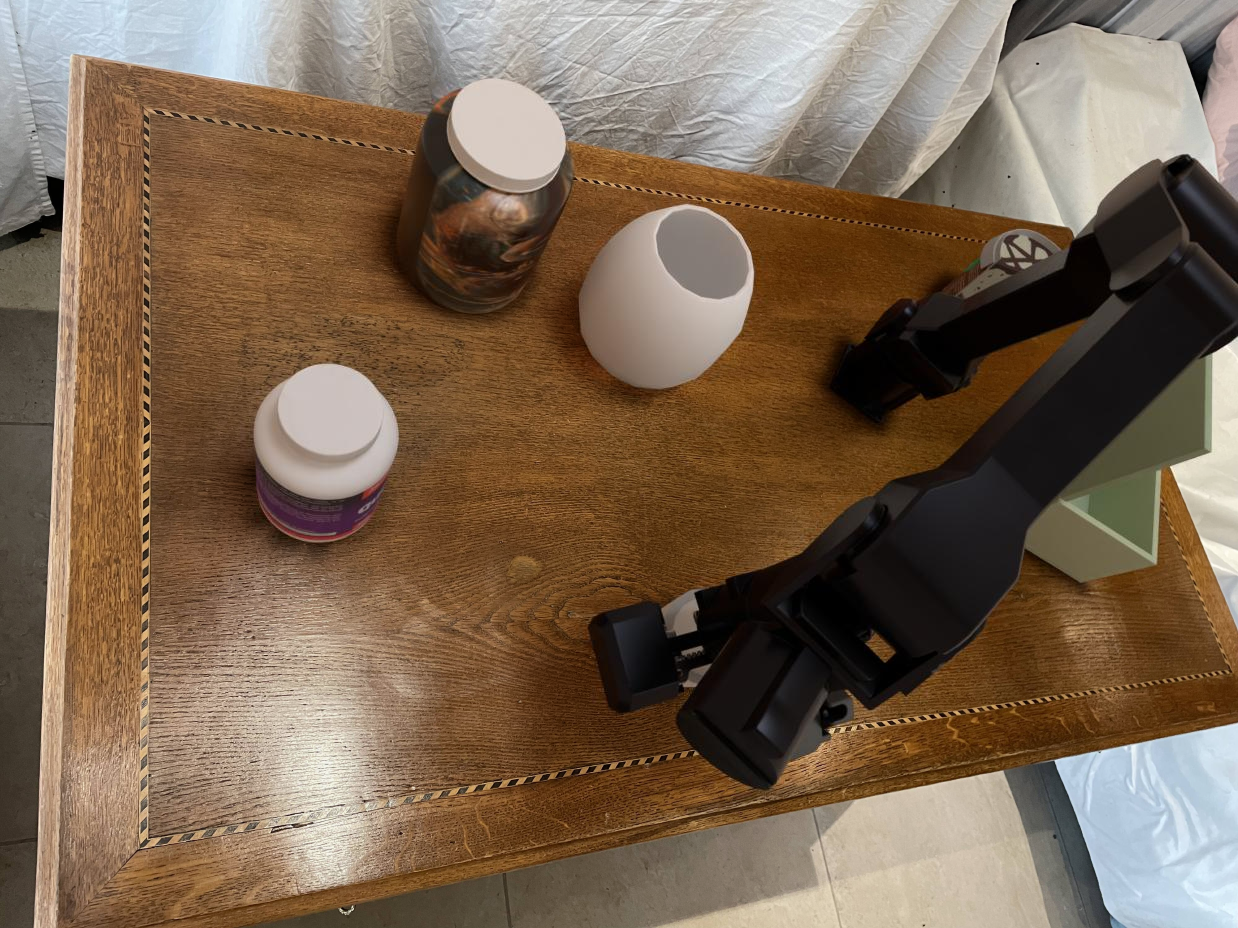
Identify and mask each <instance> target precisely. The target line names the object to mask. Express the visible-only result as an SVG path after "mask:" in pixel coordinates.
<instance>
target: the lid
mask: <svg viewBox="0 0 1238 928" xmlns="http://www.w3.org/2000/svg"><path fill="white" fill-rule="evenodd" d="M1213 354H1214V353H1212V354H1210V355H1208V356H1206V357H1203V358H1201V359H1198V360H1196V361H1195V362H1194V363H1193V364H1192V365H1191V366H1190V367H1189V368H1188V369H1187V370H1186V371H1185V372H1184V373H1183V374H1182V375H1181V376H1180V377H1179V378H1178V379H1177V380H1176V381H1175V382H1174V383H1173V384H1172V385H1171V386H1170V387H1169V388H1168V389H1167V390H1166V391H1165V392H1164V393H1163V394H1162V395H1161V396H1160V397H1159V398H1158V399H1157V400H1156V401H1155V402H1154V403H1153V404H1152V405H1151V406H1150V407H1149V408H1148V409H1147V410H1146V411H1145V412H1144V413H1143V414H1142V415H1141V416H1140V417H1139V418H1138V419H1137V420H1136V421H1135V422H1134V423H1133V424H1132V425H1131V426H1130V427H1129V428H1128V429H1127V430H1126V431H1125V432H1124V433H1123V434H1122V435H1121V436H1120V437H1119V438H1118V439H1117V440H1116V441H1115V442H1114V443H1113V444H1112V445H1111V446H1110V447H1109V448H1108V449H1107V450H1106V451H1105V452H1104V453H1103V454H1102V455H1101V456H1100V457H1099V458H1098V459H1097V460H1096V461H1095V462H1094V463H1093V464H1092V465H1091V466H1090V467H1089V468H1088V469H1087V470H1086V471H1085V472H1084V473H1083V474H1082V475H1081V476H1080V477H1079V478H1078V479H1077V480H1076V481H1075V482H1074V483H1073V484H1072V485H1071V486H1070V487H1069V488H1068V489H1067V490H1066V491H1065V492H1064V493H1063V494H1062V495H1061V496H1060V498H1061V499H1062V500H1064V501H1065V502H1068V501H1071V500H1074V499H1076V498H1079V497H1082V496H1085V495H1088V494H1091V493H1094V492H1097V491H1100V490H1103V489H1106V488H1109V487H1112V486H1114V485H1117V484H1120V483H1123V482H1126V481H1129V480H1132V479H1135V478H1138V477H1141V476H1144V475H1147V474H1150V473H1152V472H1155V471H1158V470H1161V471H1162V470H1164V469H1167V468H1170V467H1173V466H1175V465H1179V464H1182V463H1185V462H1188V461H1190V460H1193V459H1196V458H1199V457H1202V456H1204V455H1207V454H1210V453H1212V451H1213V450H1212V449H1213V442H1212V441H1213Z"/></svg>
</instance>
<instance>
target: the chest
mask: <svg viewBox="0 0 1238 928" xmlns="http://www.w3.org/2000/svg"><path fill="white" fill-rule="evenodd" d="M1161 484H1162V469H1161V470H1158V471H1155V472H1152V473H1150V474H1147V475H1144V476H1141V477H1138V478H1135V479H1132V480H1129V481H1126V482H1123V483H1120V484H1117V485H1114V486H1112V487H1109V488H1106V489H1103V490H1100V491H1097V492H1094V493H1091V494H1088V495H1085V496H1082V497H1079V498H1076V499H1074V500H1071V501H1068V502H1065V501H1064V500H1062V499H1061V498H1060V497H1059V498H1058V499H1057V500H1056V501H1055V502H1054V503H1053V504H1052V505H1051V506H1050V507H1049V508H1048V509H1047V510H1046V511H1045V512H1044V513H1043V514H1042V515H1041V516H1040V517H1039V519H1038V520H1037V521H1036V522H1035V523H1034V525H1033V526H1032V527H1031V528H1030V529H1029V531H1028V534H1027V540H1026V545H1025V550H1027V551H1029V552H1030V553H1032V554H1033V555H1035V556H1036V557H1038V558H1040V559H1041V560H1043V561H1044V562H1046V563H1048V564H1049V565H1052V566H1053V567H1055V568H1056V569H1057V570H1059V571H1061V572H1063V573H1064V574H1066V575H1067V576H1068V577H1070V578H1072V579H1074V580H1076V581H1077V582H1078V583H1080V584H1082V583H1083V584H1084V583H1087V582H1091V581H1095V580H1099V579H1103V578H1107V577H1112V576H1115V575H1119V574H1124V573H1129V572H1133V571H1136V570H1137V571H1138V570H1142V569H1145V568H1149V567H1154V566H1157V565H1158V549H1159V527H1160V508H1161V507H1160V506H1161V504H1160V503H1161V487H1162V485H1161Z"/></svg>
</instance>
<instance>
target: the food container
mask: <svg viewBox="0 0 1238 928" xmlns="http://www.w3.org/2000/svg"><path fill="white" fill-rule="evenodd" d="M1061 250H1062V249H1061V248H1060V247H1059V246H1057V244H1056V243H1054V242H1053V241H1052V240H1051V239H1050V238H1047V237H1046V236H1045V235H1043V234H1041V233H1039V232H1038V231H1034V230H1031V229H1026V228H1017V229H1012V230H1008V231H1005V232H1003V233H1001V234H999V235H996V236H994V237H993V238H991V239H989V240H988V241H987V242H986V243H985V245H984V246H983V248H982V250H981V254H980V256H979V257H978V258H977V259H976V260H975V261H973V262H972V263H971V264H970V265H969V266H967V268H965V269H964V271H962V272H961V273H960V274H959V275H957V276H956V277H955V278H954V279H953V280H952V281H951V282H950V283H949V284H947V285H946V286H945V287H944V288H942V289H941V291H940V292H942V293H946V294H949V295H953V296H957V297H960V298H964V299H966V298H968V297H970V296H972V295H974V294H976V293H978V292H980V291H982V290H984V289H986V288H988V287H990V286H992V285H994V284H996V283H998V282H1000V281H1002V280H1004V279H1006V278H1007V277H1009V276H1011V275H1013V274H1015V273H1017V272H1019V271H1021V270H1023V269H1025V268H1027V267H1029V266H1031V265H1033V264H1035V263H1037V262H1039V261H1041V260H1043V259H1045V258H1047V257H1049V256H1051V255H1053V254H1055V253H1057V252H1059V251H1061Z"/></svg>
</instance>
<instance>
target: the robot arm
mask: <svg viewBox="0 0 1238 928" xmlns="http://www.w3.org/2000/svg"><path fill="white" fill-rule="evenodd" d="M1060 250H1061V251H1059V252H1057V253H1055V254H1053V255H1051V256H1049V257H1047V258H1045V259H1043V260H1041V261H1039V262H1037V263H1035V264H1033V265H1031V266H1029V267H1027V268H1025V269H1023V270H1021V271H1019V272H1017V273H1015V274H1013V275H1011V276H1009V277H1007V278H1006V279H1004V280H1002V281H1000V282H998V283H996V284H994V285H992V286H990V287H988V288H986V289H984V290H982V291H980V292H978V293H976V294H974V295H972V296H970V297H968V298H966V299H964V298H960V297H957V296H953V295H949V294H946V293H942V292H941V291H936V292H932V293H930V294H928V295H926V296H924V297H921V298H920V299H918V300H917V301H915V300H914V299H912V298H905V297H903V298H902V297H901V298H899V299H898V300H897V301H895V303H893V304H892V305H891V306H890V307H889V308H887V309H886V310H885V311H884V312H883V313H882V314H881V315H880V317H879V318H878V319H877V321H876V322H875V323H874V325H872V327H871V328H870V329H869V331H868V332H867V334H866V335H865V336H864V337H863V339H864V340H863V341H862V342H860V343H859V344H857V345H856V344H855V343H853V342H850V343H848V344H847V345H846V346H845V347H844V348H845V349H844V351H843V353H842V355H841V357H840V359H839V362H838V364H837V367H836V369H835V372H834V374H833V376H832V379H831V381H830V383H829V389H830V391H832V392H833V394H835V395H837V396H838V397H840V399H843V400H844V401H845V402H847V404H849V405H851V406H852V407H853V408H855V409H856V410H857V411H859V412H860V413H861V414H863V415H864V416H866V417H867V418H868V419H869V420H871V421H872V422H873V423H875V424H878V425H880V424H881V423H883V422H884V420H885V418H886V414H887V413H888V411H889V412H894V411H895V410H897V409H899V408H900V407H902V406H903V405H906V404H908V403H909V402H911V401H912V400H915V399H916V398H917V397H920V395H921V396H922V398H923V399H924V401H926V402H928V401H932V400H936V399H939V398H942V397H945V396H948V395H951V394H954V393H957V392H959V391H961V389H962V388H963V389H966V388H968V387H969V386H971V383H972V379H973V377H974V376H975V375H976V374H977V373H978V371H979V369H980V365H981V364H982V363H983V362H984V361H985V360H986V359H987V357H989V355H991V354H993V353H997V352H999V351H1002V350H1005V349H1007V348H1010V347H1014V346H1016V345H1018V344H1019V345H1020V344H1021V343H1025V342H1027V341H1029V340H1032V339H1035V338H1037V337H1040V336H1043V335H1046V334H1049V333H1051V332H1055V331H1057V330H1059V329H1062V328H1065V327H1068V326H1070V325H1074V324H1076V323H1080V322H1081V321H1084V322H1083V323H1082V324H1081V325H1080V327H1078V328H1077V329H1076V330H1075V331H1074V332H1073V333H1072V334H1071V335H1070V336H1069V337H1068V338H1067V339H1066V340H1065V341H1064V343H1062V344H1061V345H1060V346H1059V348H1057V349H1056V351H1055V352H1054V353H1053V354H1052V355H1050V357H1049V358H1047V359H1046V361H1045V362H1043V363H1042V365H1040V366H1039V368H1038V369H1036V371H1034V372H1033V373H1032V374H1031V375H1030V377H1028V378H1027V380H1025V382H1024V383H1022V385H1020V387H1019V388H1017V389H1016V391H1015V392H1013V394H1012V395H1011V396H1010V397H1008V398H1007V399H1006V400H1005V402H1004V403H1002V404H1001V406H1000V407H999V408H998V409H997V410H996V411H995V412H994V413H993V414H991V416H990V417H988V419H987V420H986V421H985V422H984V423H983V424H982V425H980V427H979V428H978V429H977V430H976V431H974V433H973V434H972V435H971V436H970V437H968V438H967V440H966V441H964V443H963V444H961V446H960V447H958V448H957V449H956V451H955V452H953V453H952V454H951V455H950V456H949V457H948V458H947V459H946V460H945V461H944V462H942V463H941V464H940V465H939V466H938V467H935V468H932V469H928V470H925V471H920V472H916V473H912V474H908V475H905V476H904V475H903V476H900V477H897V478H893V479H890V481H888V482H887V483H885V485H883V487H881V489H879V490H878V491H877V492H876V493H875V494H874V495H868V496H865V497H863V498H860V499H859V500H857V501H856V502H854V503H853V504H852V505H850V506H849V507H847V508H846V509H845V510H844V511H842V513H840V514H839V515H838V516H837V517H836V518H835V519H834V520H833V521H832V522H831V523H830V524H829V525H828V526H827V527H826V528H825V529H824V530H822V532H821V533H820V534H819V535H818V536H817V537H816V538H815V539H814V540H813V541H812V542H811V543H809V545H808V546H807V547H806V548H805V549H804V550H803V551H802V552H801V553H798V554H796V555H793V556H791V557H789V558H786V559H784V560H782V561H779V562H776V563H774V564H772V565H769V566H765V567H764V568H760V569H757V570H752V571H748V572H744V573H740V574H736V575H732V576H730V577H728V578H725V579H724V582H725V583H722V584H718V585H715V586H709V587H707V588H706V589H705V588H701V589H702V590H699V591H697V592H694V595H695V598H696V602H697V605H698V608H699V610H697V611H695V612H694V613H693V617H694V621H695V623H696V625H697V630H696V631H693V632H689V633H685V634H682V635H678V636H677V635H676V631H675V630H671V631H667V627H666V624H665V621H664V617H663V614H662V610H661V609H662V606H661V603H660V602H658V601H657V602H654V603H653V602H652V601H651V600H646V601H642V602H637V603H633V604H630V605H629V604H628V605H625V606H621V607H618V608H613V609H610V610H609V609H608V610H605V611H602V612H600V613H598V614H595V615H594V616H592V617H591V620H590V622H589V624H588V626H587V631H588V635H589V639H590V642H591V645H592V650H593V654H594V657H595V660H596V665H597V668H598V669H597V670H598V673H599V677H600V680H601V684H602V688H603V691H604V696H605V700H606V702H607V707H608V709H610V710H611V711H613V712H614V713H616V714H618V715H621V714H627V713H632V712H635V711H639V710H643V709H645V708H648V707H651V706H654V705H658V704H661V703H664V702H667V701H670V700H674V699H677V698H678V696H679V694H681V693H685V687H683V684H684V683H685V682H686V681H687V680H688V678H689V672H690V670H692V669H696V668H699V667H702V666H706V665H709V664H711V666H710V667H709V668H708V670H707V671H706V673H705V674H704V676H703V677H702V679H701V680H700V681H699V683H698V684H697V686H696V687H694V688H693V690H692V692H691V693H690V694H689V695H688V697H687V698H686V700H685V701H684V703H683V704H682V705H681V706H680V708H679V710H678V712H677V713H676V714H675V717H674V718H675V719H674V720H675V725H676V727H677V729H678V731H679V733H680V734H681V736H682V737H683V739H684V740H685V741H686V742H687V743H688V745H690V747H691V748H692V749H693V750H694V751H695V752H696V753H697V754H698V755H699V756H700V757H701V758H703V759H704V760H705V761H707V763H709V764H710V765H711V766H713V767H714V768H715V769H716V770H718V771H719V772H721V773H722V774H724V775H726V776H727V777H729V778H731V779H733V780H734V781H736V782H737V783H738V782H739V783H740V784H742V785H744V786H747V787H750V788H751V789H755V790H759V791H770V790H771V788H772V787H774V786H775V785H776V784H777V783H778V782H779V779H780V778H781V777H782V775H783V773H784V771H785V769H786V767H787V766H788V765H789V763H790V762H792V761H795V760H799V759H800V758H803V757H806V756H808V755H811V754H813V753H815V752H817V750H818V749H819V747H820V746H821V745H822V744H823V743H825V742H828V741H831V740H832V733H831V732H829V729H830V728H833V727H835V726H836V727H837V726H838V725H841V724H843V723H846V722H849V721H852V720H853V719H855V709H854V699H853V697H854V698H855V699H856V700H857V702H859V703H860V704H861V705H862V706H863V707H864V708H865V709H866V710H867V711H873V710H875V709H877V708H878V707H879V706H881V705H883V704H884V703H885V702H887V701H888V700H890V699H891V698H893V697H894V696H896V695H897V694H898V693H901V694H902V695H903V696H904V697H907V696H908V695H910V694H912V692H913V691H915V690H916V689H917V688H918V687H919V686H921V685H922V684H923V683H925V681H926V680H928V679H929V678H930V677H932V676H933V675H934V674H935V673H936V672H938V671H939V670H940V669H941V668H943V667H944V666H945V665H947V664H948V662H949V661H951V660H952V659H953V658H954V657H956V656H957V655H958V654H959V653H960V652H962V651H963V650H964V649H966V648H967V647H968V646H969V645H970V644H972V642H974V640H975V639H976V638H977V637H978V636H979V635H980V633H982V632H983V631H984V630H985V627H986V626H985V625H986V623H987V621H988V617H989V616H990V615H991V614H992V612H993V611H994V610H995V609H996V608H997V607H998V605H999V604H1000V603H1001V602H1002V600H1003V599H1004V598H1005V597H1006V596H1007V595H1008V594H1009V592H1010V591H1011V590H1012V589H1013V588H1014V586H1015V585H1016V584H1017V582H1018V581H1019V578H1020V575H1021V571H1022V566H1023V565H1022V564H1023V559H1024V556H1025V555H1024V554H1025V550H1026V549H1025V545H1026V540H1027V534H1028V531H1029V529H1030V528H1031V527H1032V526H1033V525H1034V523H1035V522H1036V521H1037V520H1038V519H1039V517H1040V516H1041V515H1042V514H1043V513H1044V512H1045V511H1046V510H1047V509H1048V508H1049V507H1050V506H1051V505H1052V504H1053V503H1054V502H1055V501H1056V500H1057V499H1058V498H1059V497H1060V496H1061V495H1062V494H1063V493H1064V492H1065V491H1066V490H1067V489H1068V488H1069V487H1070V486H1071V485H1072V484H1073V483H1074V482H1075V481H1076V480H1077V479H1078V478H1079V477H1080V476H1081V475H1082V474H1083V473H1084V472H1085V471H1086V470H1087V469H1088V468H1089V467H1090V466H1091V465H1092V464H1093V463H1094V462H1095V461H1096V460H1097V459H1098V458H1099V457H1100V456H1101V455H1102V454H1103V453H1104V452H1105V451H1106V450H1107V449H1108V448H1109V447H1110V446H1111V445H1112V444H1113V443H1114V442H1115V441H1116V440H1117V439H1118V438H1119V437H1120V436H1121V435H1122V434H1123V433H1124V432H1125V431H1126V430H1127V429H1128V428H1129V427H1130V426H1131V425H1132V424H1133V423H1134V422H1135V421H1136V420H1137V419H1138V418H1139V417H1140V416H1141V415H1142V414H1143V413H1144V412H1145V411H1146V410H1147V409H1148V408H1149V407H1150V406H1151V405H1152V404H1153V403H1154V402H1155V401H1156V400H1157V399H1158V398H1159V397H1160V396H1161V395H1162V394H1163V393H1164V392H1165V391H1166V390H1167V389H1168V388H1169V387H1170V386H1171V385H1172V384H1173V383H1174V382H1175V381H1176V380H1177V379H1178V378H1179V377H1180V376H1181V375H1182V374H1183V373H1184V372H1185V371H1186V370H1187V369H1188V368H1189V367H1190V366H1191V365H1192V364H1193V363H1194V362H1195V361H1196V360H1198V359H1201V358H1203V357H1206V356H1208V355H1210V354H1212V353H1213V354H1214V353H1217V352H1218V351H1220V350H1221V349H1223V348H1224V347H1226V346H1228V345H1229V344H1230V343H1232V342H1233V341H1234V340H1236V339H1237V338H1238V201H1237V199H1236V198H1235V197H1234V196H1232V194H1231V193H1230V192H1229V191H1228V190H1227V188H1225V187H1224V186H1223V185H1222V184H1221V183H1220V182H1219V181H1218V180H1217V179H1216V178H1215V177H1214V176H1213V174H1211V173H1210V171H1208V170H1207V168H1206V167H1205V166H1204V165H1203V164H1202V163H1201V162H1200V161H1199V160H1198V159H1197V158H1195V157H1192V156H1191V155H1190V154H1189V153H1181V154H1178V155H1175V156H1173V157H1171V158H1169V159H1167V160H1165V161H1162V160H1161V159H1160V158H1155V159H1152V160H1150V161H1148V162H1147V163H1145V164H1143V165H1141V166H1139V168H1137V169H1135V171H1133V172H1132V173H1130V174H1129V175H1127V176H1126V177H1125V178H1124V179H1123V180H1121V181H1120V182H1119V183H1118V184H1116V185H1115V186H1114V188H1112V189H1111V190H1110V191H1109V192H1108V193H1107V194H1106V195H1105V196H1104V197H1103V198H1102V199H1101V201H1100V202H1099V204H1098V206H1097V209H1096V213H1095V214H1094V216H1093V217H1092V218H1091V219H1090V220H1089V221H1088V222H1087V224H1085V226H1084V227H1083V228H1082V229H1081V230H1080V231H1079V233H1077V234H1076V236H1075V237H1073V239H1072V240H1071V242H1070V244H1069V246H1067V247H1065V248H1063V249H1060ZM1085 320H1086V321H1085ZM875 634H876V635H877V636H878V637H879V638H880V639H881V640H882V641H883V642H884V643H885V644H886V645H887V646H888V647H889V648H890V649H891V650H892V651H893V652H895V653H893V654H892V655H891V656H890V657H889V659H887V660H886V661H884V660H883V659H882V658H881V657H880V656H879V655H878V654H877V653H876V652H875V651H874V650H873V649H872V648H870V646H868V644H867V643H869V641H871V639H872V638H873V636H875ZM699 646H702V648H703V650H702V652H701V650H700V651H697V654H696V652H693V653H692V655H691V654H690V653H689V654H687V657H686V656H685V655H682V651H685V650H689V649H692V648H696V647H699ZM680 659H681V661H677V660H680ZM847 691H848V692H849V693H850V694H851V695H852V696H853V697H852V696H851V695H850V694H849V693H848V692H847Z"/></svg>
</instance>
